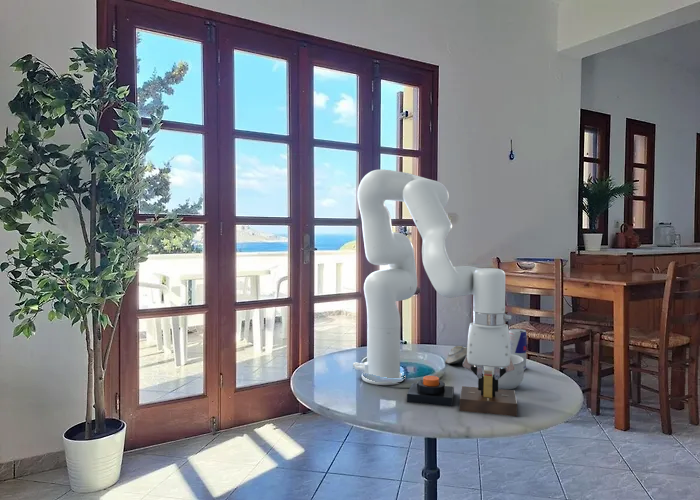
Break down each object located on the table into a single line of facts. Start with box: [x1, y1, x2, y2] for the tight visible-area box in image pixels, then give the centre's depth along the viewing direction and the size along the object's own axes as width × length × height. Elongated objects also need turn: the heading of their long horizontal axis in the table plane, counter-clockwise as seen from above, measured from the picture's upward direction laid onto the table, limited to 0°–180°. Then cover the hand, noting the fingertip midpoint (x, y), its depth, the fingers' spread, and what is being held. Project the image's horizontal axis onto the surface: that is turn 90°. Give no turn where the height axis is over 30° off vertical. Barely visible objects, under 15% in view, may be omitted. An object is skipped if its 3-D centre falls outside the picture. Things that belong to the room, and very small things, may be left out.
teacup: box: [483, 354, 525, 390], centre depth 139 cm, size 14×11×8 cm
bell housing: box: [406, 379, 455, 407], centre depth 127 cm, size 11×9×4 cm
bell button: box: [422, 375, 440, 386], centre depth 127 cm, size 4×4×2 cm
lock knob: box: [483, 369, 492, 398], centre depth 121 cm, size 5×2×5 cm, turn 164°
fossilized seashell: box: [444, 345, 467, 365], centre depth 159 cm, size 11×11×7 cm
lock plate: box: [459, 385, 518, 417], centre depth 122 cm, size 13×10×3 cm
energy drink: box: [509, 328, 528, 371], centre depth 155 cm, size 5×5×12 cm
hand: (488, 393), depth 121 cm, fingers closed on lock knob, 2 cm apart
